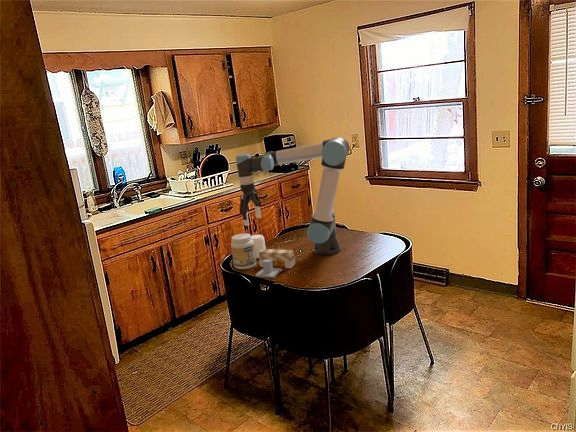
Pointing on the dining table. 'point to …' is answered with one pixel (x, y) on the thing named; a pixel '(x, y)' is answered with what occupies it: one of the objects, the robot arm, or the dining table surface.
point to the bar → (276, 255)
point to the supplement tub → (243, 251)
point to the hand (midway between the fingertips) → (252, 221)
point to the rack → (287, 263)
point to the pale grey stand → (268, 270)
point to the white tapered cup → (258, 244)
